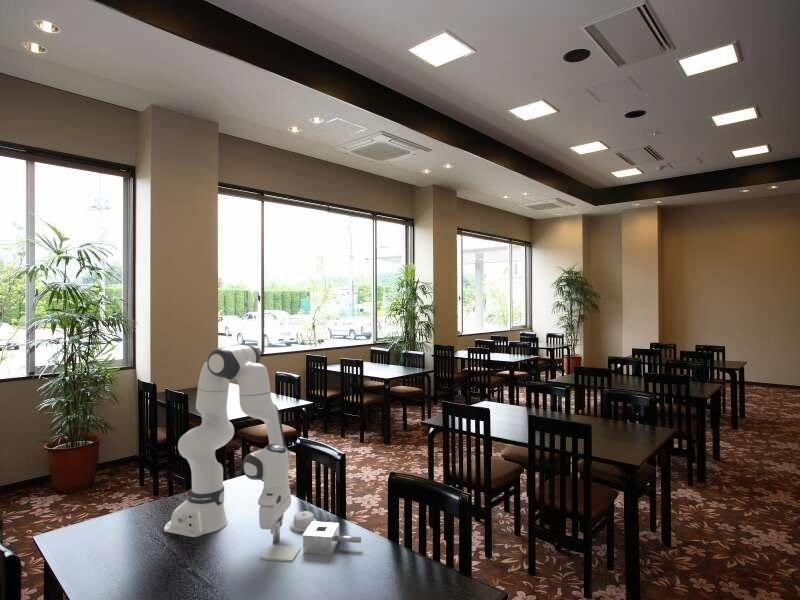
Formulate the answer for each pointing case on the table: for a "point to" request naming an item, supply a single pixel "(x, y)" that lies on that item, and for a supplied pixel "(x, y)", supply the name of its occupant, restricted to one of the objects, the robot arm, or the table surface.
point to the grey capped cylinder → (277, 535)
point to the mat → (281, 553)
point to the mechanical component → (302, 521)
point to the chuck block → (324, 538)
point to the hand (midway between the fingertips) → (276, 529)
